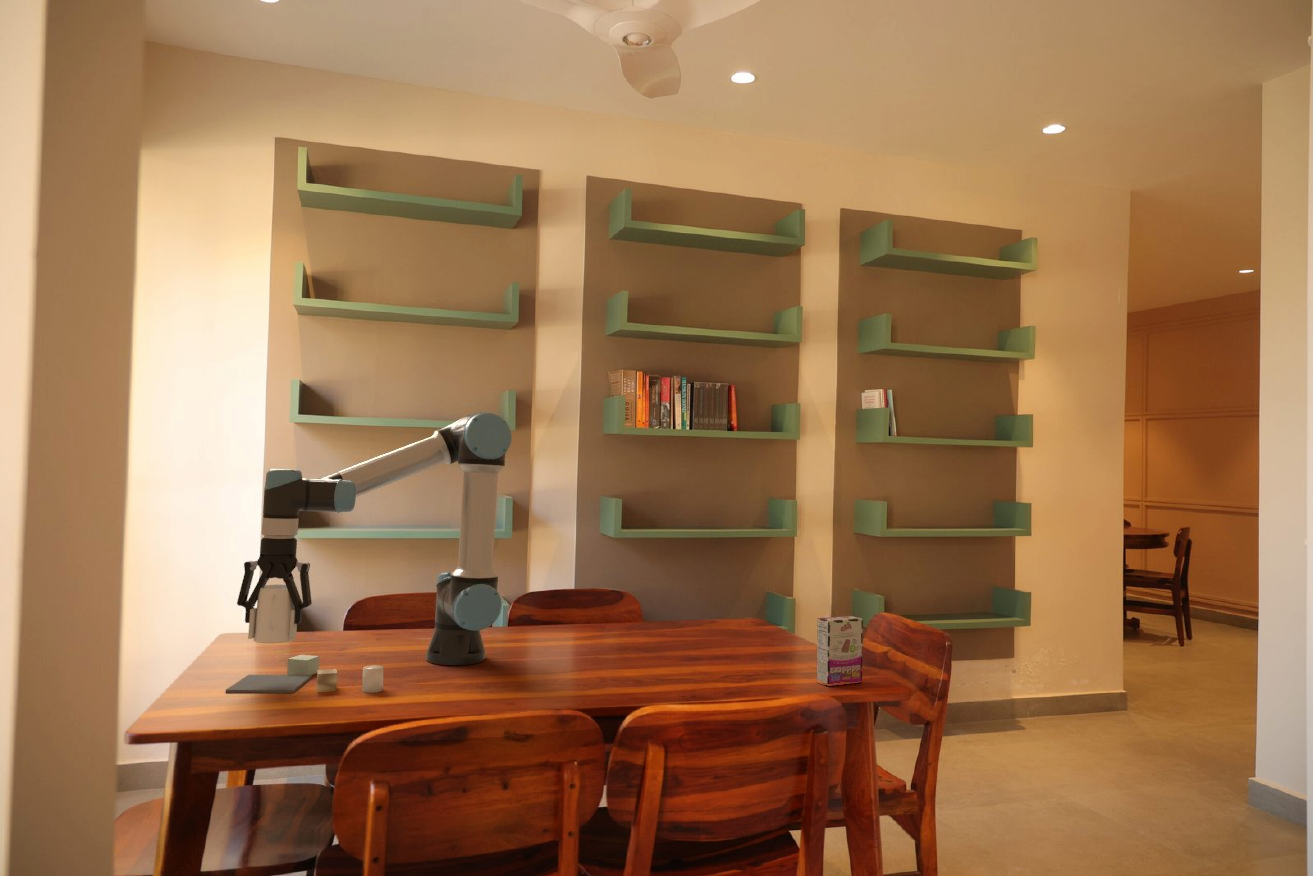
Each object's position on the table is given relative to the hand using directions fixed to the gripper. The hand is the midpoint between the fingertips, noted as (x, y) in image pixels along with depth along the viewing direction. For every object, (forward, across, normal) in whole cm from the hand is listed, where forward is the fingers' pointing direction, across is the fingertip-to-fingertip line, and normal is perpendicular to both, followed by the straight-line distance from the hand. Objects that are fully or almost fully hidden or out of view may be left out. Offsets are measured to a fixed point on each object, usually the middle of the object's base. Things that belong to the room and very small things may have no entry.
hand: (272, 637), depth 188 cm
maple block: (+11, -13, +3) cm, 17 cm away
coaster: (+10, 0, 0) cm, 10 cm away
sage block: (+11, -4, -11) cm, 16 cm away
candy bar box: (+10, -135, -5) cm, 136 cm away
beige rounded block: (+10, -23, +4) cm, 26 cm away
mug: (+1, 0, 0) cm, 1 cm away
